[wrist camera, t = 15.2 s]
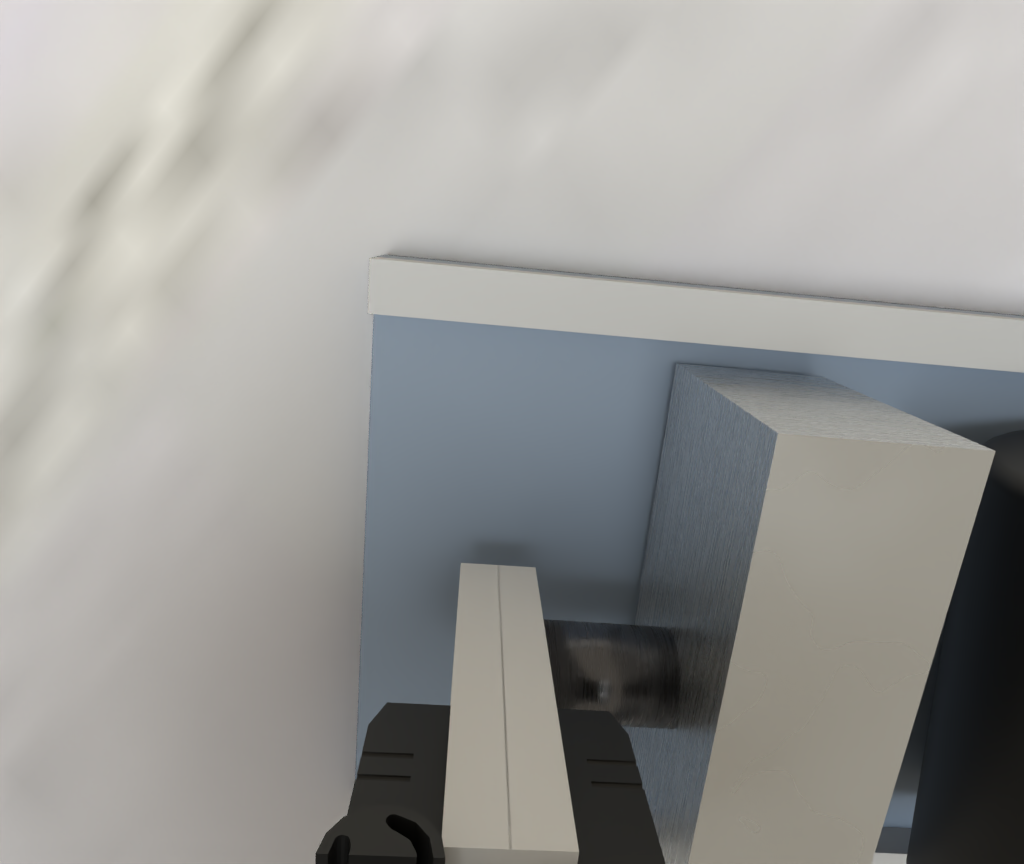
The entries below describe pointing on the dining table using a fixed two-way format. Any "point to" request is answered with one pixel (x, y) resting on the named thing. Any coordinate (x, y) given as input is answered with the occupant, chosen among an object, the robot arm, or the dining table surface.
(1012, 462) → the end cap
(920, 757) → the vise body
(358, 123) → the dining table surface
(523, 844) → the robot arm
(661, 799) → the block
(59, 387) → the dining table surface
